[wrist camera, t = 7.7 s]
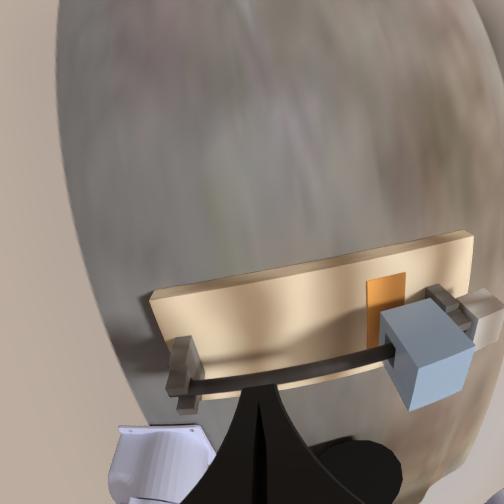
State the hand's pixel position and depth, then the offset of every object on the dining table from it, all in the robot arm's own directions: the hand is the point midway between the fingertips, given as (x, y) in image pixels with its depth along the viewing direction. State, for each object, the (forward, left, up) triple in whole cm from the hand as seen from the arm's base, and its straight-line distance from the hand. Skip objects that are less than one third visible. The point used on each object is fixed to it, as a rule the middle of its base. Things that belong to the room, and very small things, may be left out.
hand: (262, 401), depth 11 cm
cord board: (+5, -4, -10) cm, 12 cm away
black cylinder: (+7, -38, -11) cm, 40 cm away
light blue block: (+10, -4, -7) cm, 13 cm away
